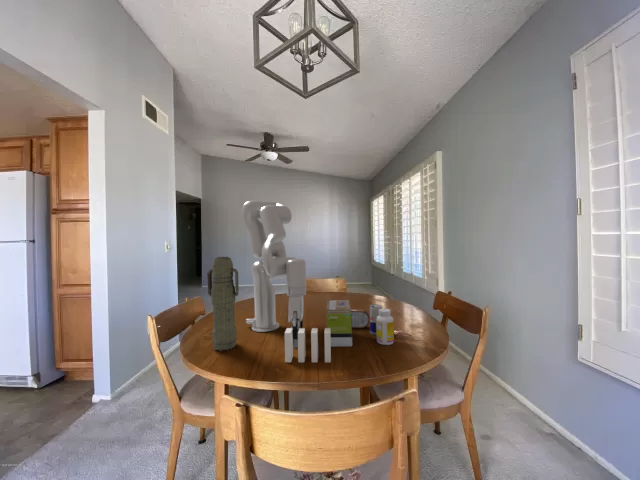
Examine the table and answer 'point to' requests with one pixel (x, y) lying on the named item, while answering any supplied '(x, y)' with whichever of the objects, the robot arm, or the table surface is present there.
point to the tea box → (339, 322)
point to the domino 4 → (314, 344)
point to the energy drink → (373, 317)
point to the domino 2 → (296, 339)
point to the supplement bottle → (385, 327)
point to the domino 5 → (327, 345)
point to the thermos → (223, 302)
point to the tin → (360, 318)
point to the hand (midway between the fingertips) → (297, 334)
